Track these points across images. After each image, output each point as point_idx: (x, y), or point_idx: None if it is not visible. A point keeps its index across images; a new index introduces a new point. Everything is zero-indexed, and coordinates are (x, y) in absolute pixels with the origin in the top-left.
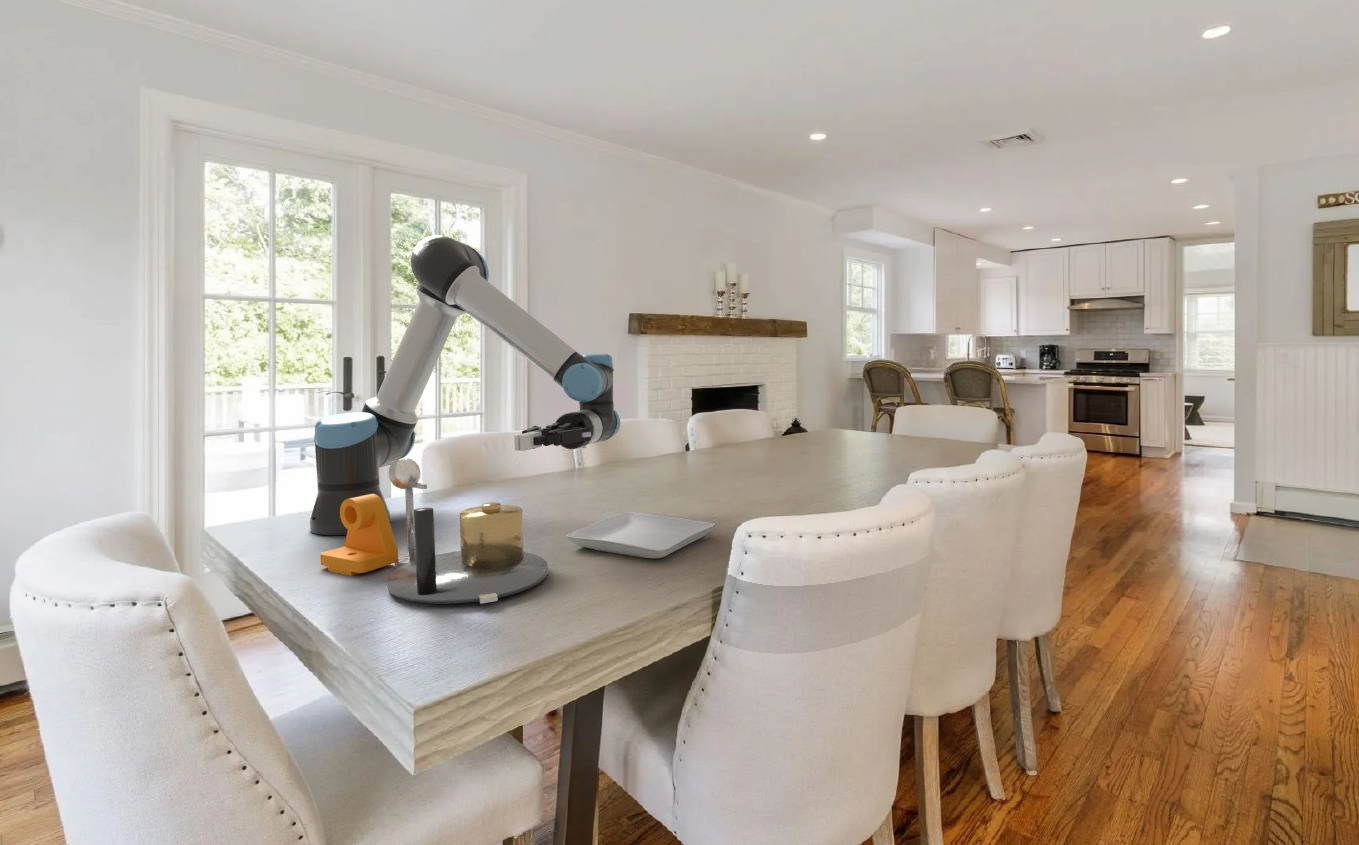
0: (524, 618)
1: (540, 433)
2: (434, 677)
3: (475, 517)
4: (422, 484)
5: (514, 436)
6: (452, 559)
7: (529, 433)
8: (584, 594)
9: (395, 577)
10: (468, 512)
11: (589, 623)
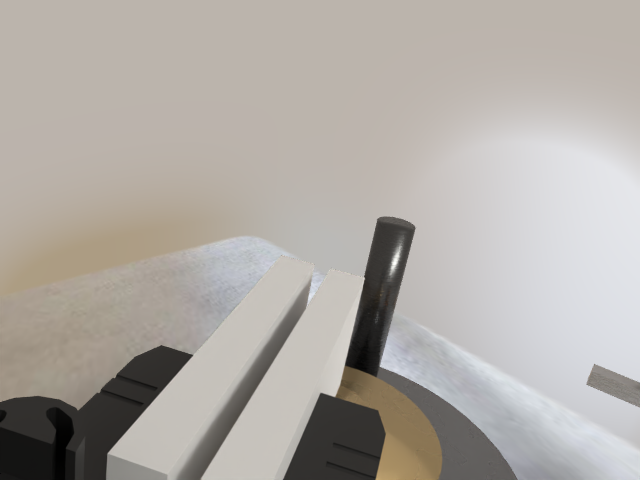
0: (167, 329)
1: (128, 447)
2: (253, 254)
3: (348, 373)
4: (605, 370)
5: (362, 286)
6: None
7: (269, 368)
8: (35, 390)
9: (479, 445)
10: (403, 425)
11: (61, 303)
